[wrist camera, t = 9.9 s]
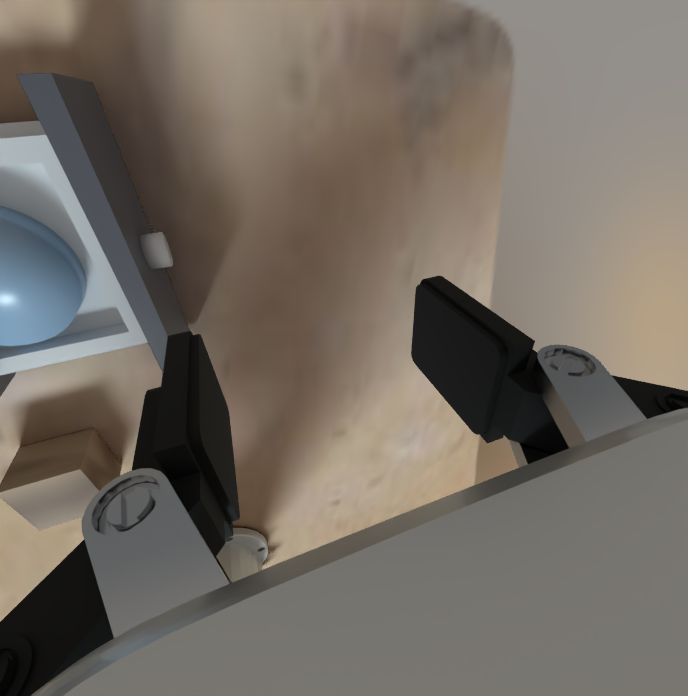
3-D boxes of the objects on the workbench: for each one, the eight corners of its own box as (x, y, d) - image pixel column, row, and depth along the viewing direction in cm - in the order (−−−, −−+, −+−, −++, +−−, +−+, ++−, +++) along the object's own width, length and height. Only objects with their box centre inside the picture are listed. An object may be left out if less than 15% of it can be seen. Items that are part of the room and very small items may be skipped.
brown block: (121, 465, 30) (113, 507, 27) (56, 485, 29) (39, 530, 26) (93, 427, 27) (79, 469, 24) (19, 447, 26) (-5, 493, 23)
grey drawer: (206, 333, 25) (208, 384, 20) (-16, 382, 22) (-73, 457, 17) (115, 81, 16) (84, 71, 12) (-273, 102, 13) (-524, 100, 9)
